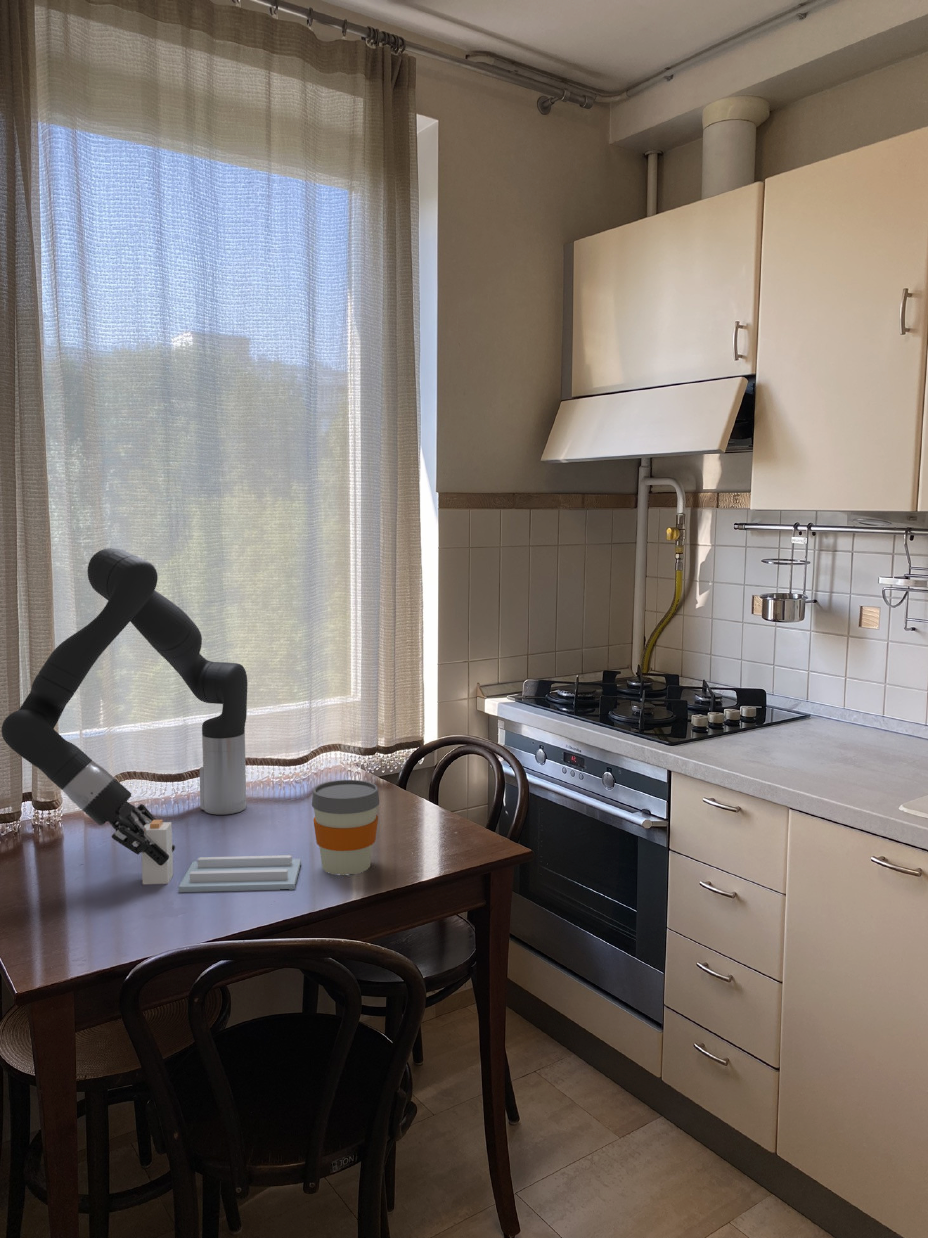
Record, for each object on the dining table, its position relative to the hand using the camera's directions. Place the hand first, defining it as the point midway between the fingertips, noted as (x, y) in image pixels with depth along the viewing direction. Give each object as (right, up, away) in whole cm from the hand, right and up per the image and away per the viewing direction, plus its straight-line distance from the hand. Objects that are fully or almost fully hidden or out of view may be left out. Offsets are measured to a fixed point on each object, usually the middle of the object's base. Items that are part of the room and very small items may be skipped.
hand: (168, 856), depth 166 cm
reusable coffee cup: (+31, -4, +7) cm, 32 cm away
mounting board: (+13, -4, +2) cm, 14 cm away
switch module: (-2, -4, 0) cm, 5 cm away
